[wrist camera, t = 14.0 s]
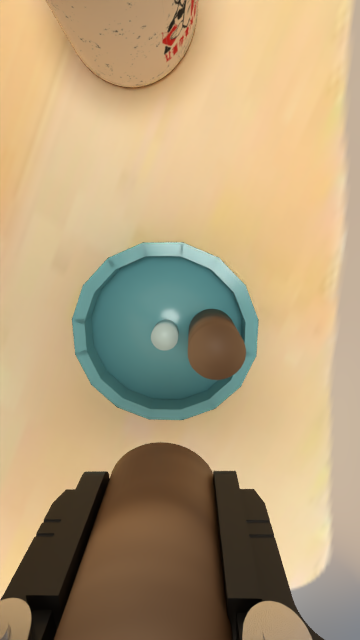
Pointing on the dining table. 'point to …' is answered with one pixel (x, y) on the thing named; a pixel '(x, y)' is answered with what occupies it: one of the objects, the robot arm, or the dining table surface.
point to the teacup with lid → (128, 36)
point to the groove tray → (132, 325)
